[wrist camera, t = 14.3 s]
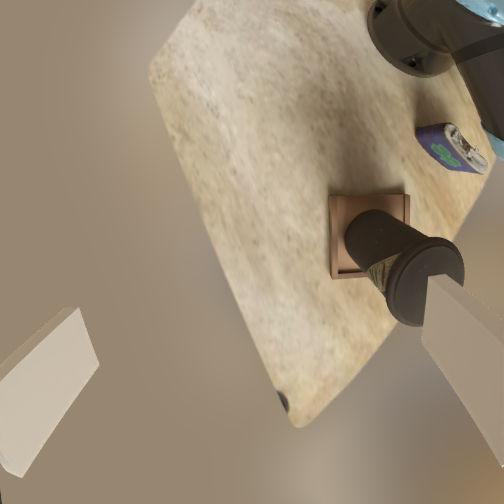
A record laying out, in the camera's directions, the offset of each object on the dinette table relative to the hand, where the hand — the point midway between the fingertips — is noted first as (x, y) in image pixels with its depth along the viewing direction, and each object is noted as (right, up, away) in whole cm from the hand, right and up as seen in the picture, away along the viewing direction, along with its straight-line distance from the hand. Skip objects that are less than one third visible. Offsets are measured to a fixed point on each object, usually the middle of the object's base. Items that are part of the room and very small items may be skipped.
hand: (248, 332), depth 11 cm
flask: (+28, +18, +31) cm, 46 cm away
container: (+17, +5, +34) cm, 39 cm away
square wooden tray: (+17, +5, +35) cm, 40 cm away
